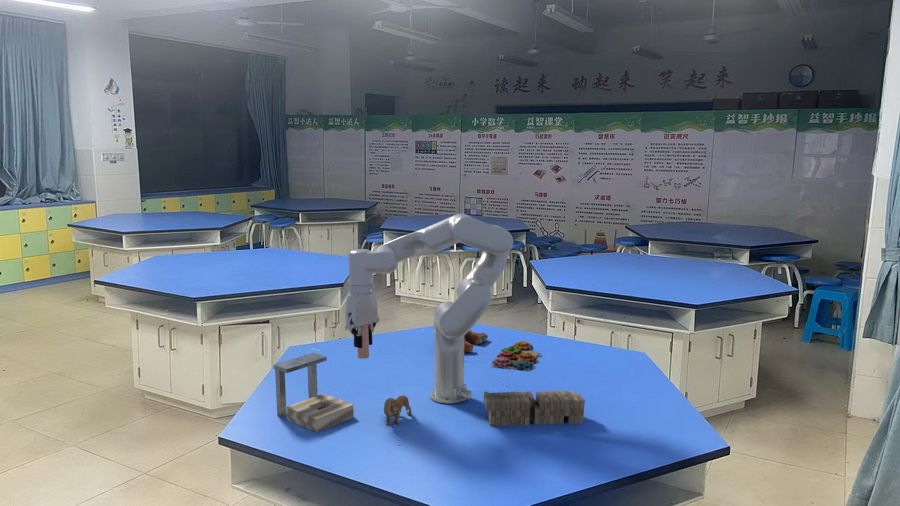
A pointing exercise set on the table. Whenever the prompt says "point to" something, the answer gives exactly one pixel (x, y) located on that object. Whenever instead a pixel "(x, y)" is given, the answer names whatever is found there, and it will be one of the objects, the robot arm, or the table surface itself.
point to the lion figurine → (395, 408)
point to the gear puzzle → (517, 357)
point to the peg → (364, 342)
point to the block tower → (534, 407)
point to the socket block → (320, 412)
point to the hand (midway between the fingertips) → (363, 345)
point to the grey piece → (294, 365)
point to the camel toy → (473, 340)
